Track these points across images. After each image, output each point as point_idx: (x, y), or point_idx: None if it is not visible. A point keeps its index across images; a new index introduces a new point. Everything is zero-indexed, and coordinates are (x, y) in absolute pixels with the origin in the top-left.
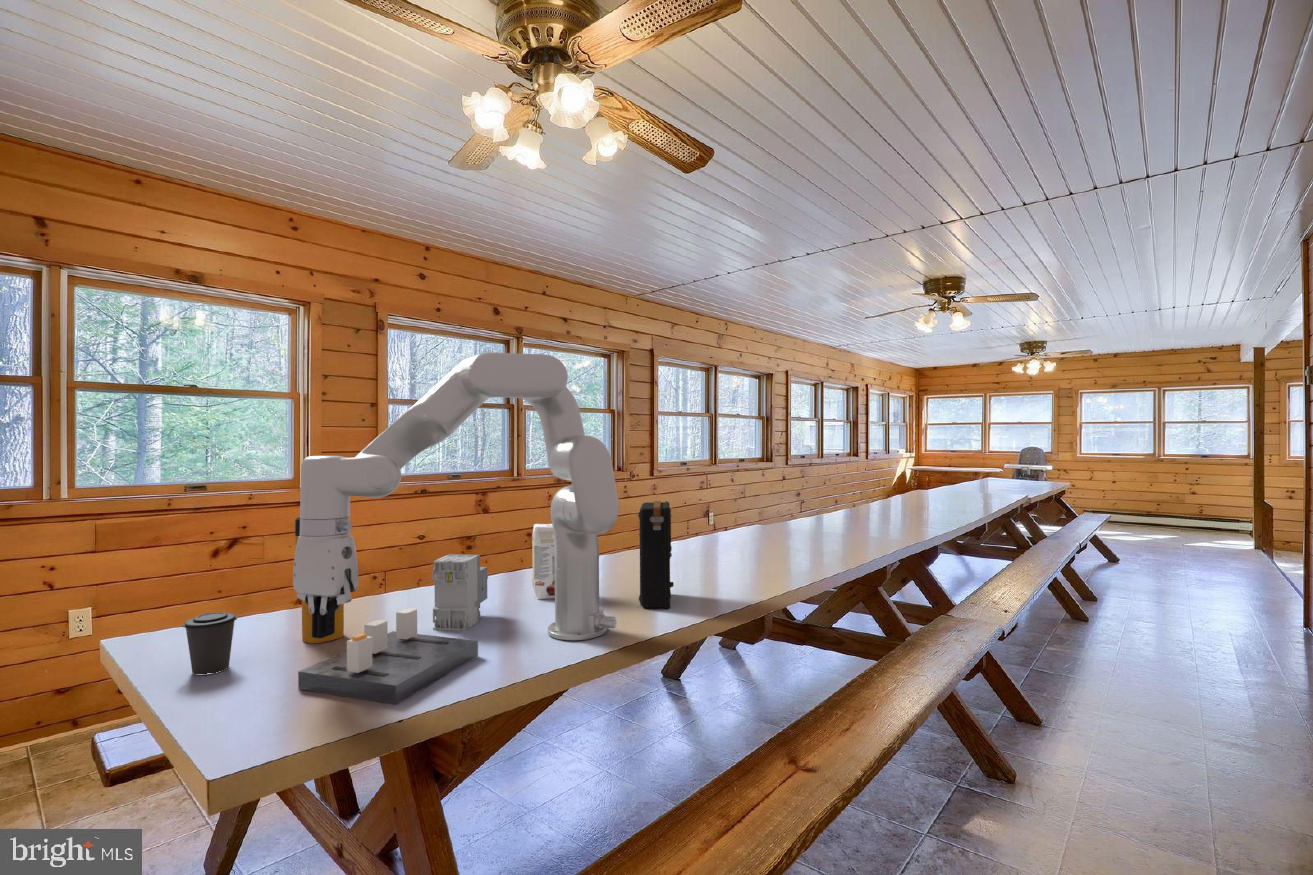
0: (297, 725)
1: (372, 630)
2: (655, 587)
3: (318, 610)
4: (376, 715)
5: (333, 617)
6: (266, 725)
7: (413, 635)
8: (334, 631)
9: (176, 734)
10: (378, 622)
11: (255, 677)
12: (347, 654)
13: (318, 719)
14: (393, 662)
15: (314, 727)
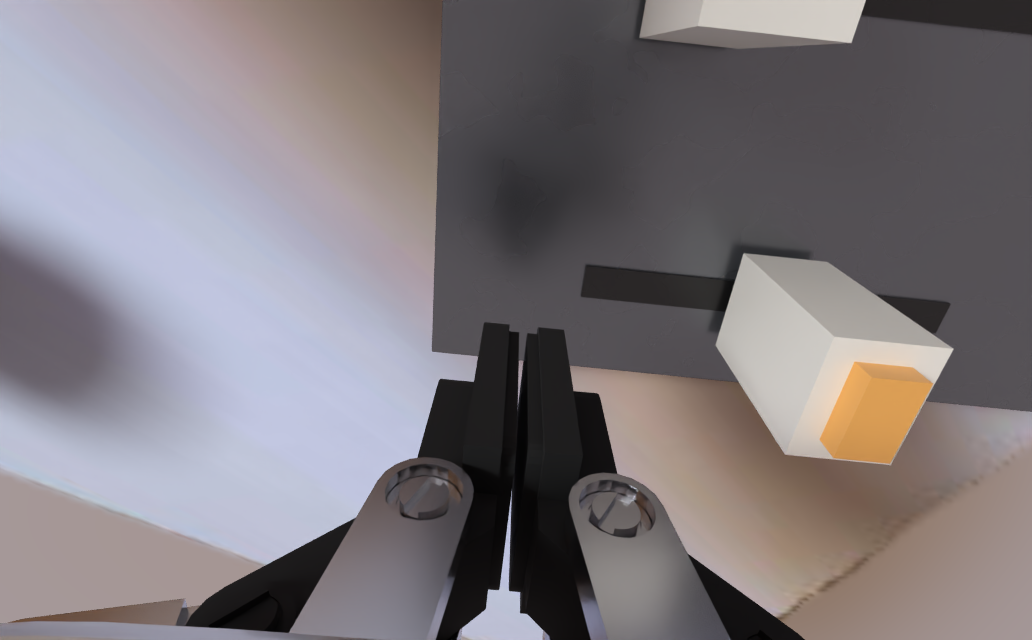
0: (673, 525)
1: (788, 40)
2: None
3: (484, 603)
4: (914, 442)
5: (612, 468)
6: None
7: None
8: (563, 330)
9: None
10: None
11: (119, 233)
12: (752, 396)
13: (716, 490)
14: (916, 137)
15: (737, 527)
